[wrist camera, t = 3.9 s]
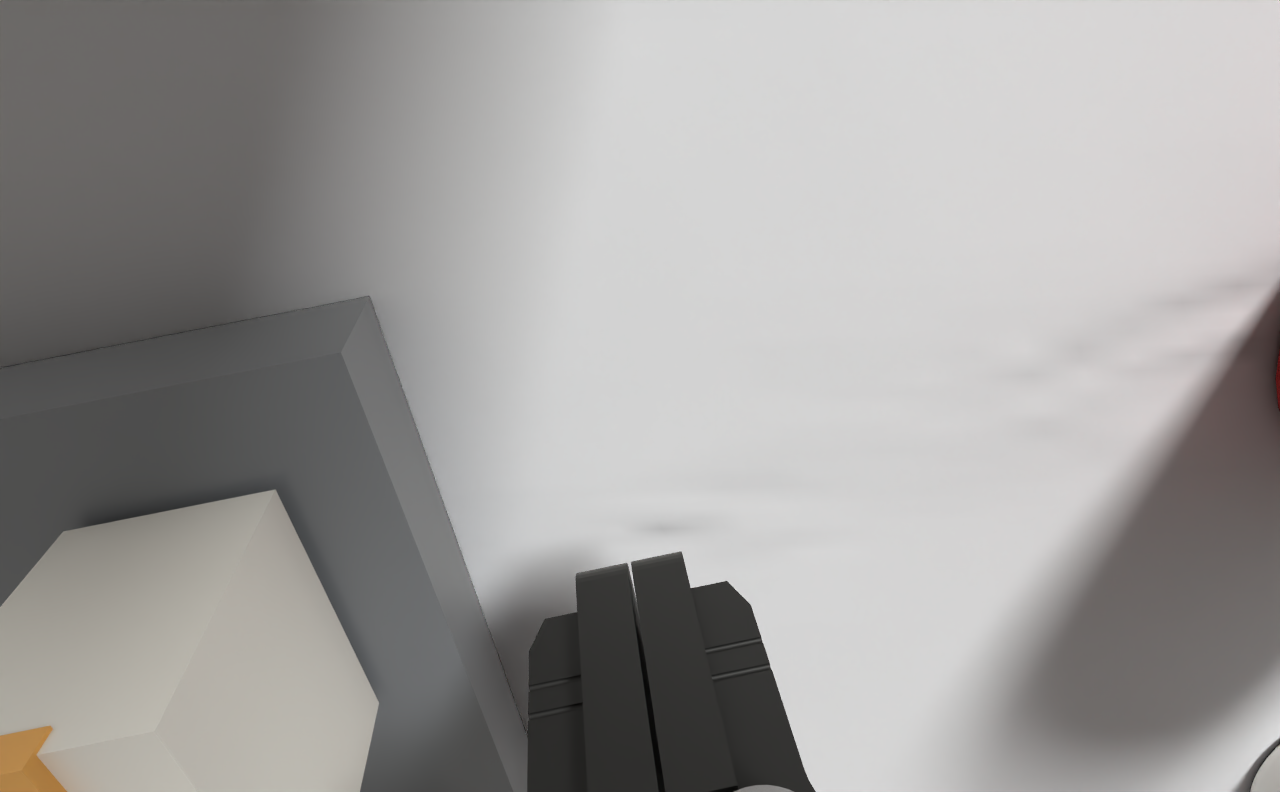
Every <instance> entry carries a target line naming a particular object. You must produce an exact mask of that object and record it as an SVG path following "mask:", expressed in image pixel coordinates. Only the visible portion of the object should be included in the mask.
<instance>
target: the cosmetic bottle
mask: <svg viewBox="0 0 1280 792" xmlns="http://www.w3.org/2000/svg"><path fill="white" fill-rule="evenodd" d="M1250 792H1280V745H1278V746H1277V747H1276V748H1275V749H1274V751H1273V752H1272V753H1271V754H1270V755H1269V756H1268V757H1267V759H1266V760H1265V761H1264V763H1263V764H1262V766H1261V767H1260V769H1259V771H1258V772H1257V774H1256V776H1255V778H1254V781H1253V783H1252V787H1251V791H1250Z"/></svg>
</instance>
